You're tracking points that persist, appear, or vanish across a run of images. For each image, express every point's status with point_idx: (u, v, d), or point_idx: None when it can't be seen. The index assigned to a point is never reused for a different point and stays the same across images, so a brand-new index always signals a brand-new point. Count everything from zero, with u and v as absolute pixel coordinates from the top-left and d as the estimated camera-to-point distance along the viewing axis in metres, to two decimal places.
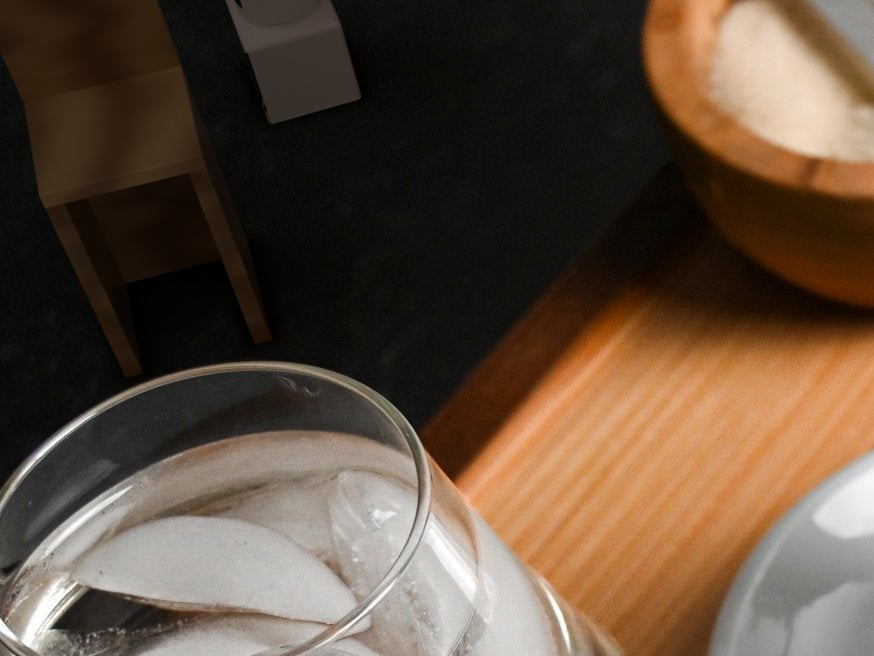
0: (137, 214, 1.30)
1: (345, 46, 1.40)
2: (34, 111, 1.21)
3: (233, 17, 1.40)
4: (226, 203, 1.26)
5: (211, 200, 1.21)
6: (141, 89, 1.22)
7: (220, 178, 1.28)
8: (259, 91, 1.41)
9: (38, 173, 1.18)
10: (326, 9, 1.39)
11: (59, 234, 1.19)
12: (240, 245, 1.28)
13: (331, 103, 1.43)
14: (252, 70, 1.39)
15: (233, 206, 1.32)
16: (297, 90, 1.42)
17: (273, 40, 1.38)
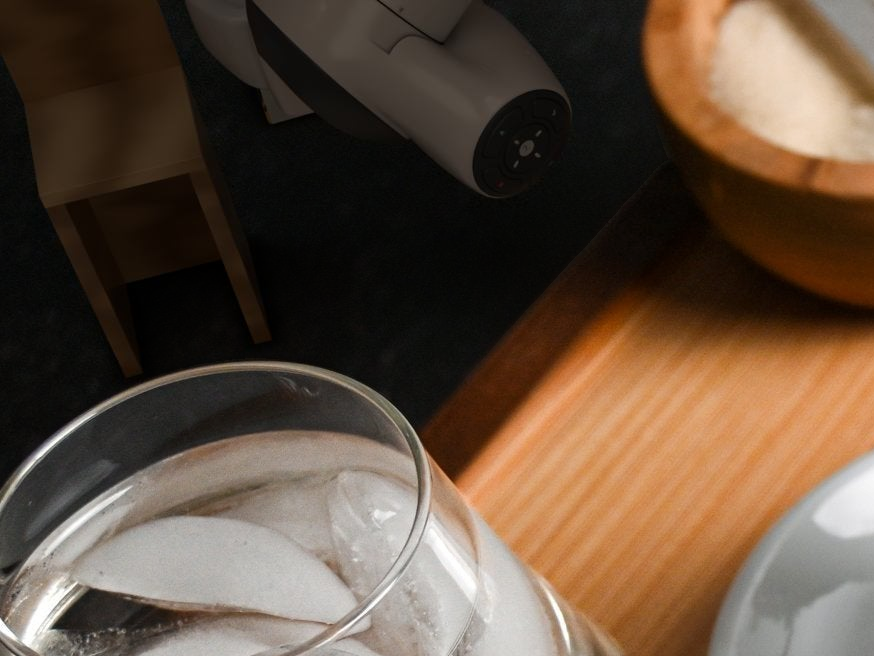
0: (137, 214, 1.30)
1: None
2: (34, 111, 1.21)
3: None
4: (226, 203, 1.26)
5: (211, 200, 1.21)
6: (141, 89, 1.22)
7: (220, 178, 1.28)
8: (259, 91, 1.41)
9: (38, 173, 1.18)
10: None
11: (59, 234, 1.19)
12: (240, 245, 1.28)
13: None
14: None
15: (233, 206, 1.32)
16: None
17: None
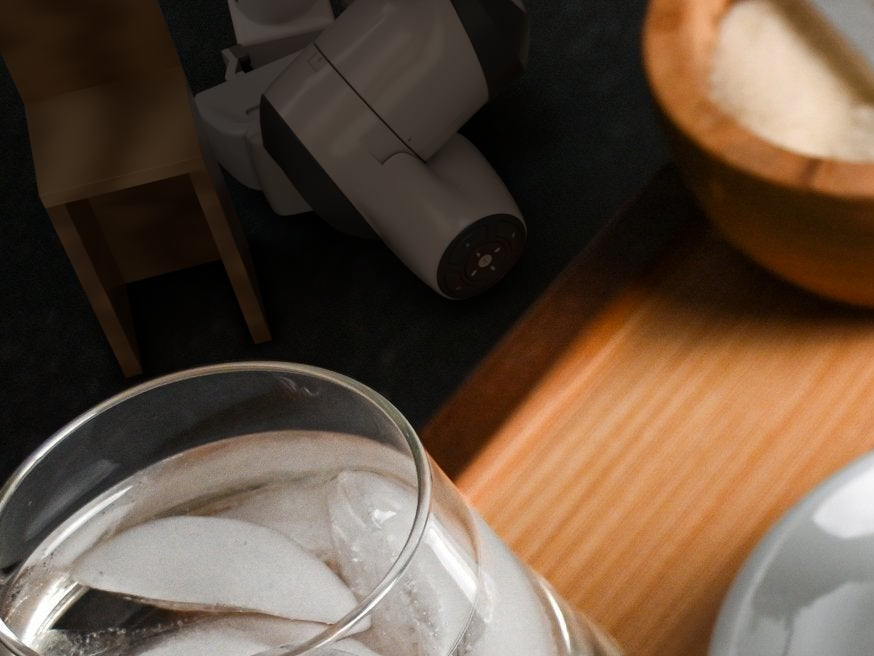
0: (137, 214, 1.30)
1: None
2: (34, 111, 1.21)
3: (231, 10, 1.40)
4: (226, 203, 1.26)
5: (211, 200, 1.21)
6: (141, 89, 1.22)
7: (220, 178, 1.28)
8: None
9: (38, 173, 1.18)
10: (323, 6, 1.40)
11: (59, 234, 1.19)
12: (240, 245, 1.28)
13: None
14: None
15: (233, 206, 1.32)
16: None
17: (267, 36, 1.38)
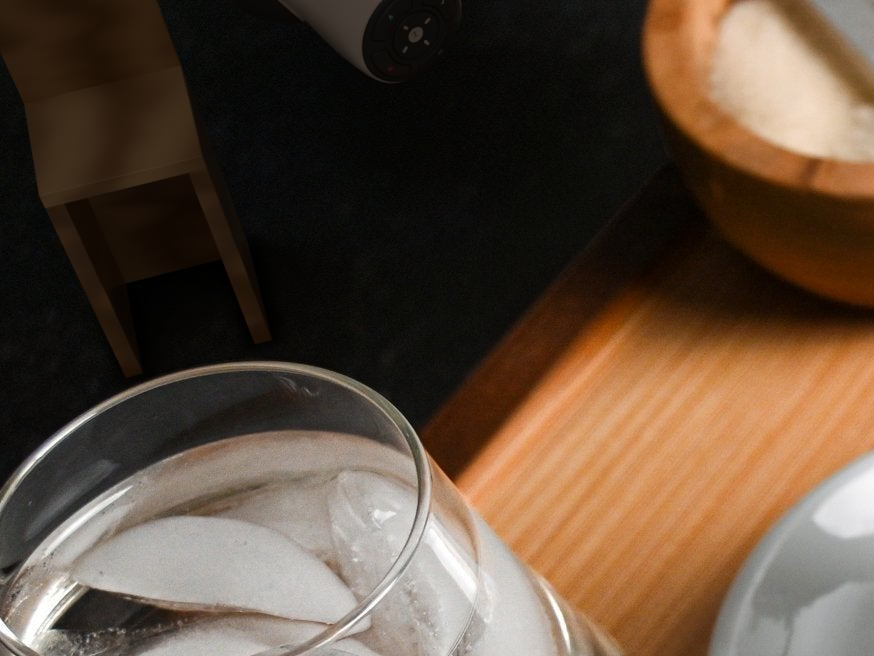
0: (137, 214, 1.30)
1: None
2: (34, 111, 1.21)
3: None
4: (226, 203, 1.26)
5: (211, 200, 1.21)
6: (141, 89, 1.22)
7: (220, 178, 1.28)
8: None
9: (38, 173, 1.18)
10: None
11: (59, 234, 1.19)
12: (240, 245, 1.28)
13: None
14: None
15: (233, 206, 1.32)
16: None
17: None
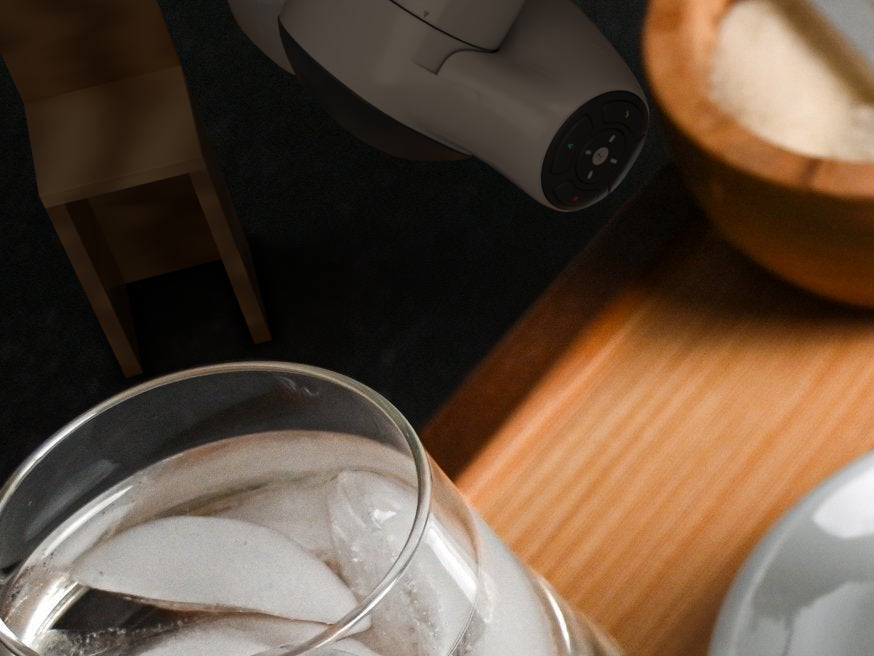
0: (137, 214, 1.30)
1: None
2: (34, 111, 1.21)
3: None
4: (226, 203, 1.26)
5: (211, 200, 1.21)
6: (141, 89, 1.22)
7: (220, 178, 1.28)
8: None
9: (38, 173, 1.18)
10: None
11: (59, 234, 1.19)
12: (240, 245, 1.28)
13: None
14: None
15: (233, 206, 1.32)
16: None
17: None
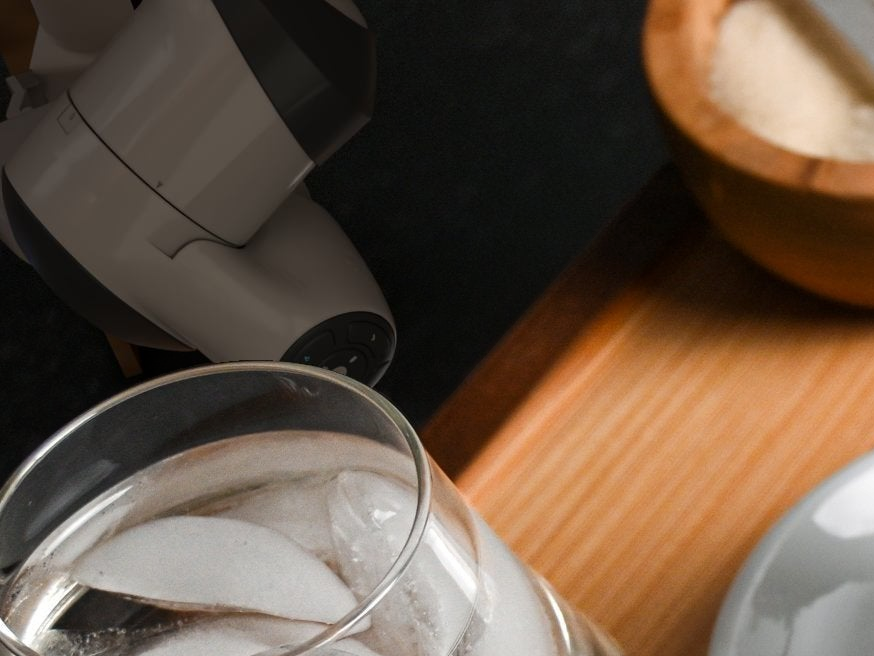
0: None
1: None
2: None
3: (40, 22, 1.06)
4: None
5: None
6: None
7: None
8: None
9: None
10: None
11: None
12: None
13: None
14: None
15: None
16: None
17: (67, 65, 1.03)
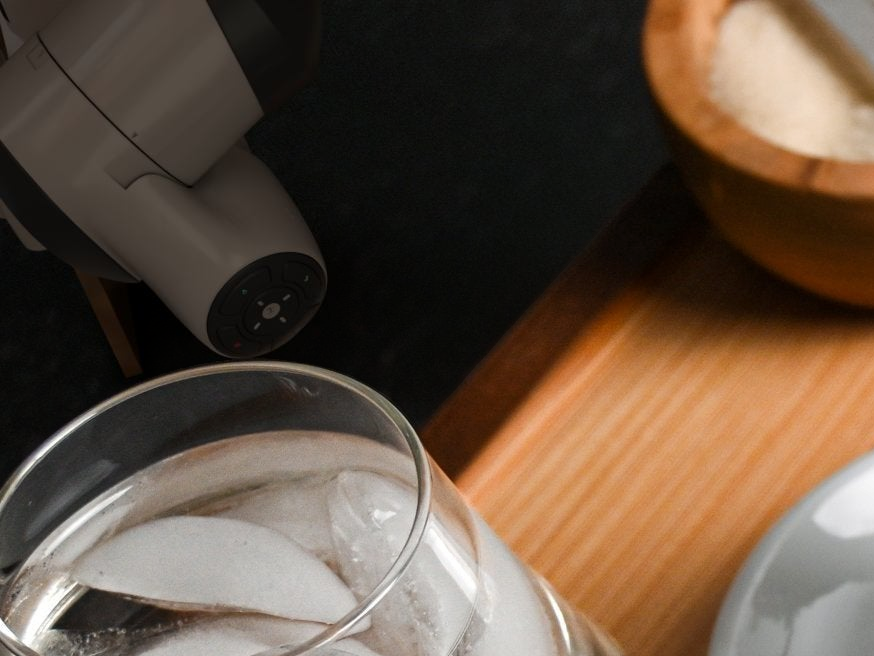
0: None
1: None
2: None
3: (3, 33, 1.14)
4: None
5: None
6: None
7: None
8: None
9: None
10: None
11: None
12: None
13: None
14: None
15: None
16: None
17: None
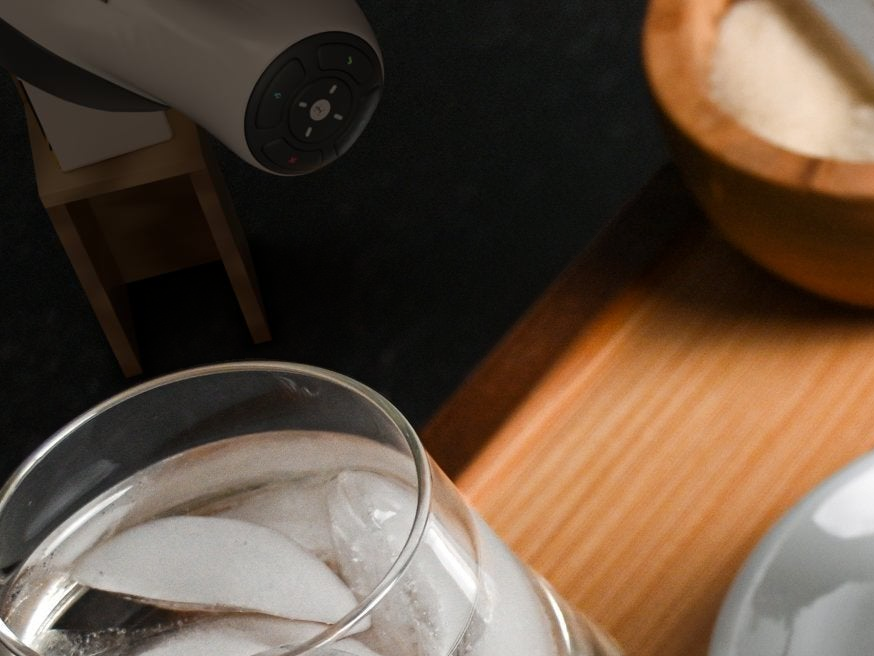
0: (137, 214, 1.30)
1: None
2: None
3: None
4: (226, 203, 1.26)
5: (211, 200, 1.21)
6: None
7: (220, 178, 1.28)
8: (40, 126, 1.15)
9: (38, 173, 1.18)
10: None
11: (59, 234, 1.19)
12: (240, 245, 1.28)
13: (133, 139, 1.18)
14: (29, 101, 1.13)
15: (233, 206, 1.32)
16: (89, 125, 1.16)
17: None
